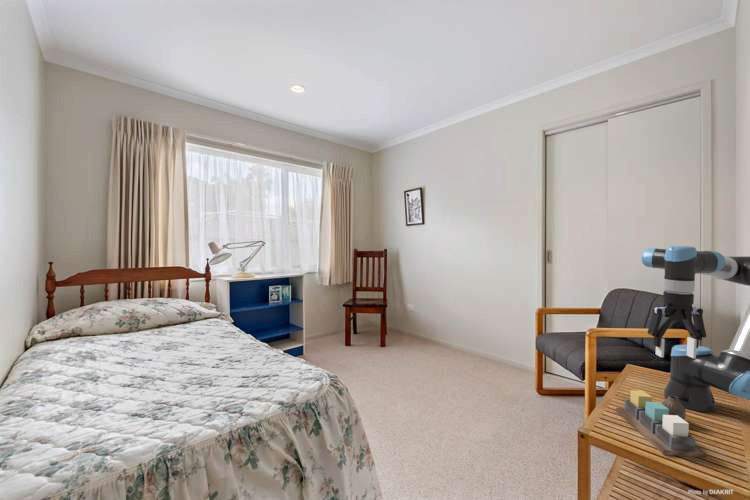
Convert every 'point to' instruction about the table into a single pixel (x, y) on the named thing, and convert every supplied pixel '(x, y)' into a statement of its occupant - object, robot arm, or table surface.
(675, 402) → the vase
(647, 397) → the plunger ochre
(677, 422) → the plunger cream
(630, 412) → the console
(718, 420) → the table surface
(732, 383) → the robot arm
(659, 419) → the plunger teal
